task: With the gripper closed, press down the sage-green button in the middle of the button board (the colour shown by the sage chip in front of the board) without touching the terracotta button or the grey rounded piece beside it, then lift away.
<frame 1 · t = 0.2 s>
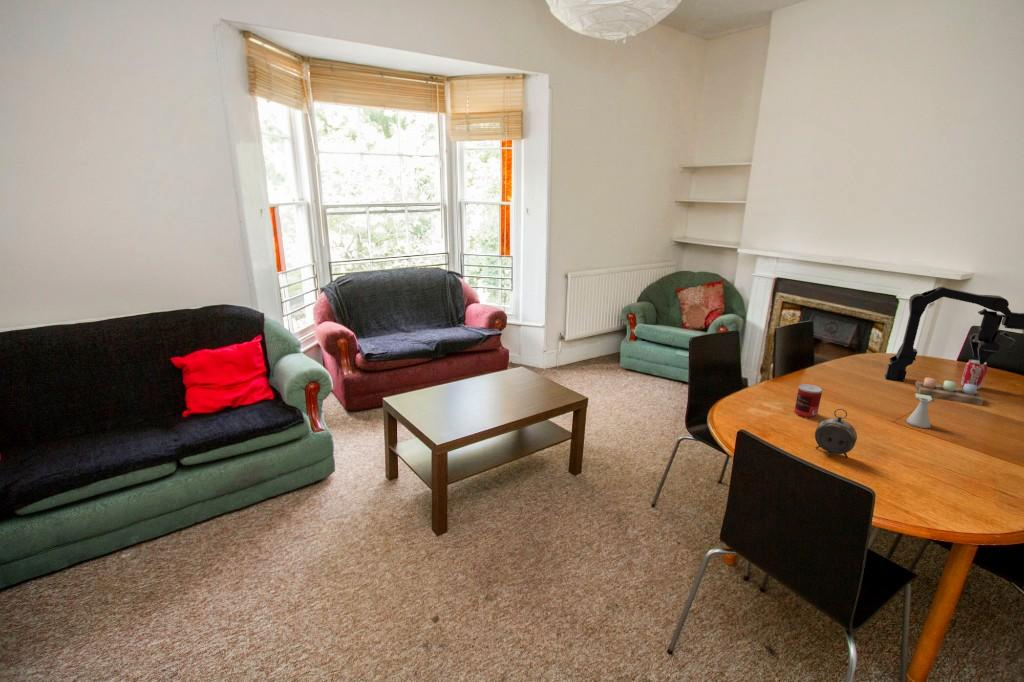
hand: (978, 361, 208), 14 cm above the table, fingers open, 9 cm apart
grey rounded piece: (969, 390, 203), point 4 cm above the table, slide at 0.0 cm
button board: (946, 395, 207), on the table
canned food: (805, 414, 187), on the table
terracotta button: (929, 383, 209), point 4 cm above the table, slide at 0.0 cm
soda can: (970, 387, 216), on the table
sage button: (949, 386, 206), point 4 cm above the table, slide at 0.0 cm
flask: (918, 424, 180), on the table
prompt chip: (923, 397, 204), on the table
alarm clock: (830, 455, 158), on the table
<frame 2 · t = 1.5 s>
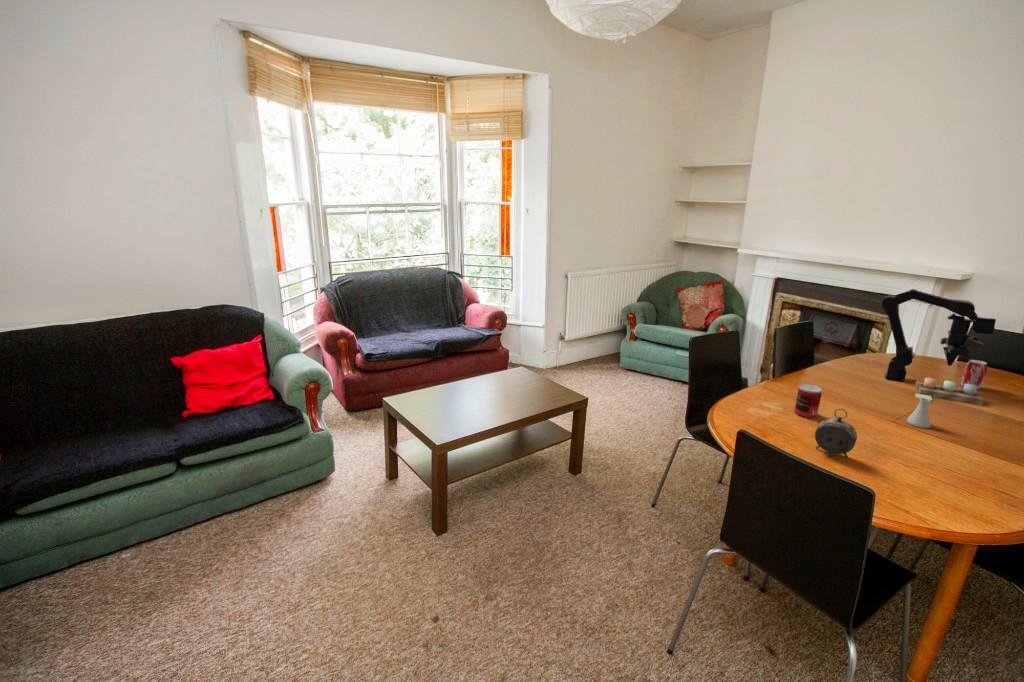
hand: (949, 365, 211), 11 cm above the table, fingers closed
nothing on the table moved.
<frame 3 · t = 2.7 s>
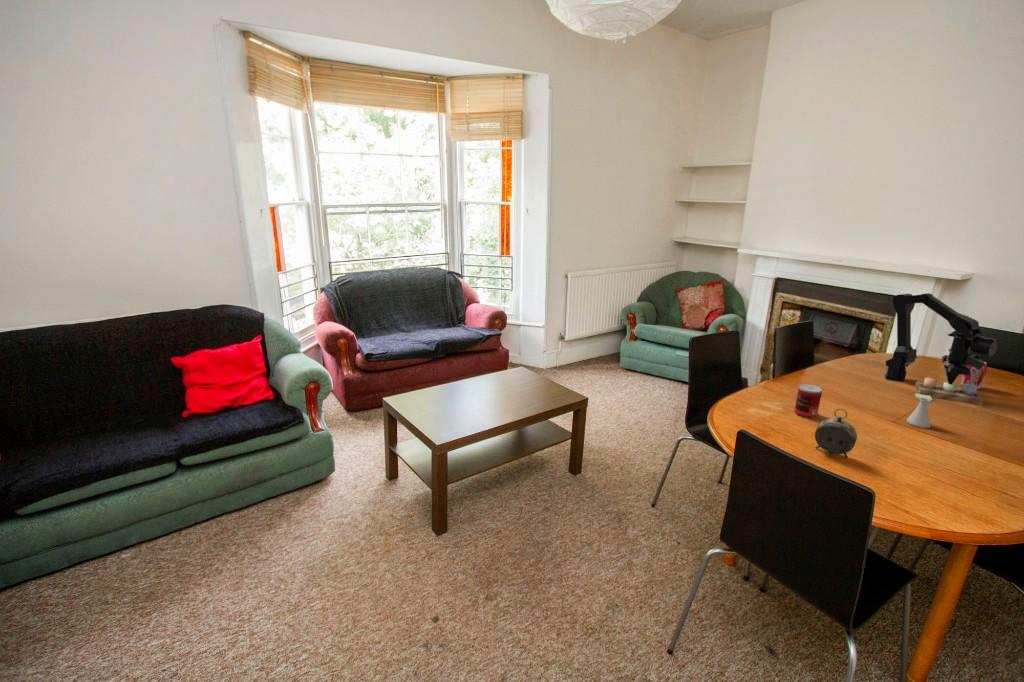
hand: (949, 383, 206), 5 cm above the table, fingers closed, pressing on sage button
sage button: (948, 388, 206), point 3 cm above the table, slide at 0.8 cm, touching gripper
everything else where it was.
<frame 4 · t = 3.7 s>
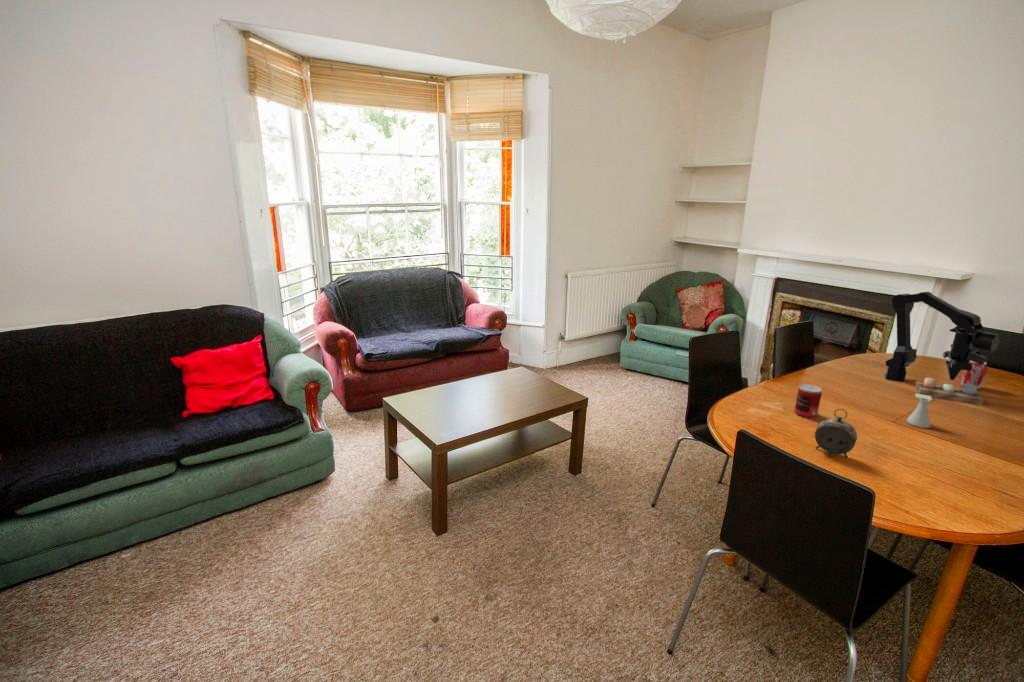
hand: (951, 379, 205), 7 cm above the table, fingers closed
sage button: (948, 390, 206), point 2 cm above the table, slide at 1.6 cm
everything else where it was.
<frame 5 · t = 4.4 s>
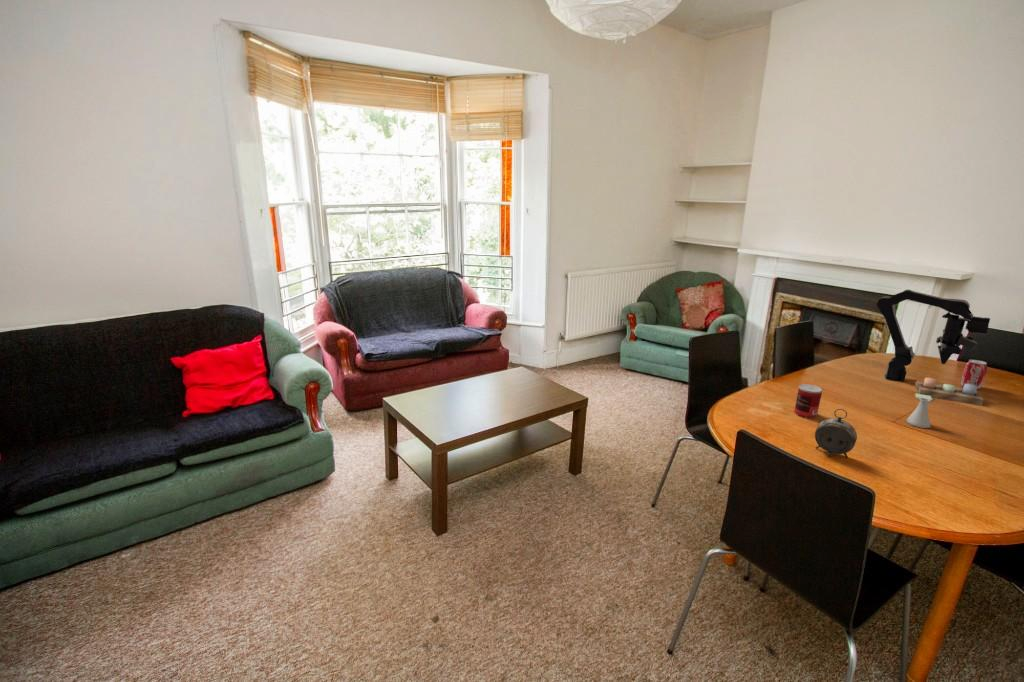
hand: (943, 363, 212), 11 cm above the table, fingers closed
nothing on the table moved.
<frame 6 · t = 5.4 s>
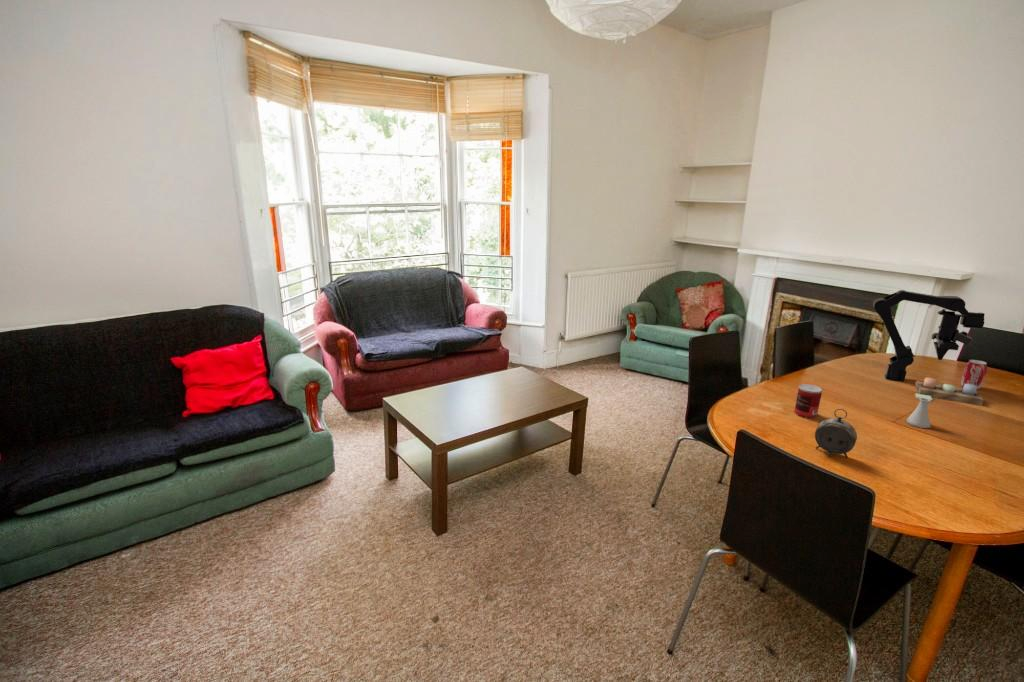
hand: (939, 359, 215), 12 cm above the table, fingers closed
nothing on the table moved.
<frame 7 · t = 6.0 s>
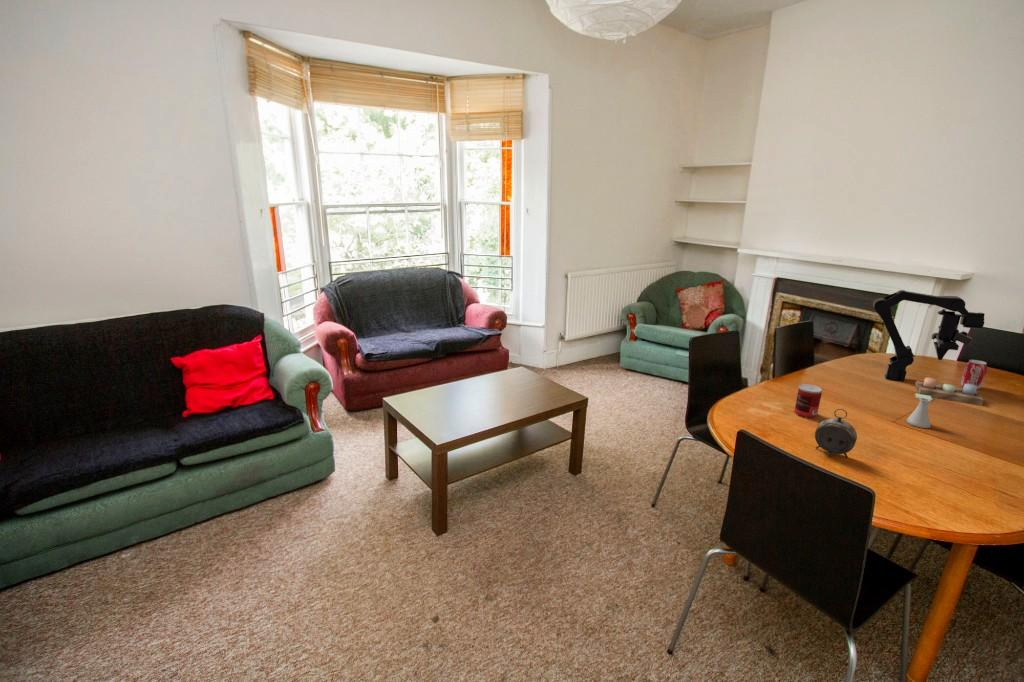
hand: (939, 359, 215), 12 cm above the table, fingers closed
nothing on the table moved.
at the end: sage button slide at 1.6 cm; terracotta button slide at 0.0 cm; grey rounded piece slide at 0.0 cm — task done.
